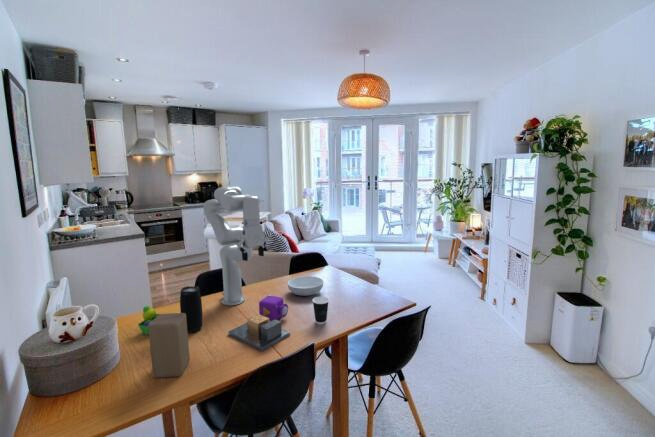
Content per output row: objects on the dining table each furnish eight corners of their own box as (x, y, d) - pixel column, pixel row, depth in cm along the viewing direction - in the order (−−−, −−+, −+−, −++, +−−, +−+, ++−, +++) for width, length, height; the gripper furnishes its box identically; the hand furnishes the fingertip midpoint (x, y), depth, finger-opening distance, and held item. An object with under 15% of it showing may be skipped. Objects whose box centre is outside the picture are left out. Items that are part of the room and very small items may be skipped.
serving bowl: (303, 284, 208) (303, 273, 206) (330, 291, 195) (330, 280, 194) (280, 294, 191) (279, 283, 190) (308, 303, 179) (308, 290, 178)
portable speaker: (206, 324, 155) (203, 285, 152) (197, 334, 146) (194, 292, 143) (188, 324, 155) (185, 284, 152) (178, 334, 146) (175, 292, 143)
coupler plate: (228, 334, 146) (227, 318, 144) (256, 321, 158) (256, 306, 157) (261, 351, 132) (261, 333, 131) (289, 335, 145) (289, 319, 144)
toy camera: (284, 323, 155) (284, 303, 154) (257, 321, 158) (256, 301, 156) (291, 313, 166) (291, 295, 164) (266, 311, 169) (265, 293, 167)
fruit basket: (151, 337, 144) (149, 313, 142) (135, 334, 146) (133, 310, 145) (171, 325, 154) (169, 302, 153) (155, 323, 157) (153, 300, 155)
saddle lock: (248, 332, 145) (247, 319, 144) (259, 326, 150) (258, 314, 149) (258, 337, 140) (258, 323, 139) (269, 331, 145) (269, 318, 144)
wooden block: (163, 362, 125) (159, 312, 122) (190, 360, 126) (186, 311, 123) (152, 379, 115) (146, 325, 112) (181, 377, 116) (177, 324, 113)
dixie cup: (317, 316, 162) (317, 295, 161) (332, 320, 159) (331, 298, 157) (309, 323, 155) (309, 301, 154) (324, 327, 152) (324, 304, 150)
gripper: (241, 226, 145) (243, 263, 148) (271, 220, 159) (272, 255, 161) (231, 224, 150) (233, 260, 152) (260, 219, 163) (262, 253, 166)
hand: (253, 258), depth 157 cm, fingers open, 9 cm apart
